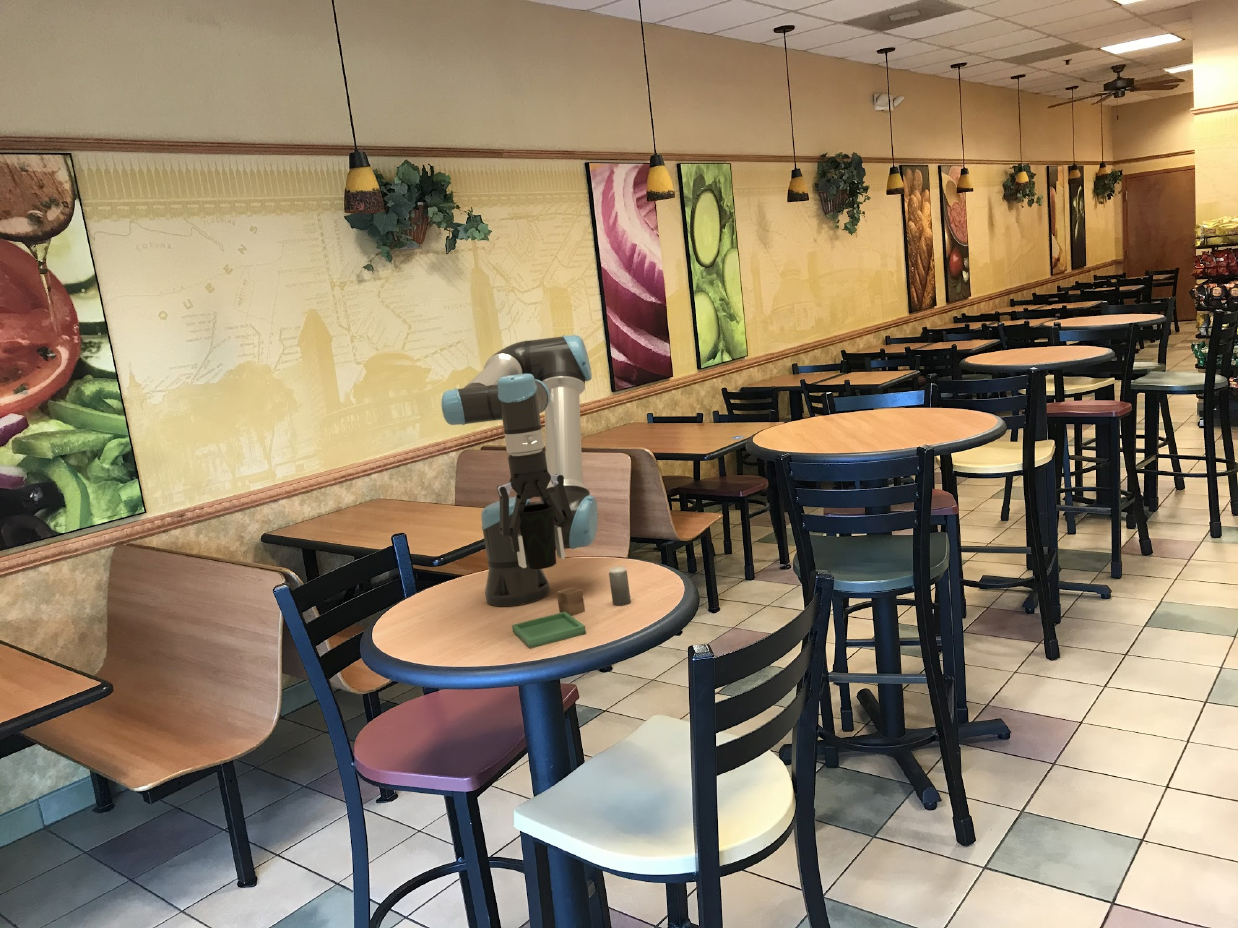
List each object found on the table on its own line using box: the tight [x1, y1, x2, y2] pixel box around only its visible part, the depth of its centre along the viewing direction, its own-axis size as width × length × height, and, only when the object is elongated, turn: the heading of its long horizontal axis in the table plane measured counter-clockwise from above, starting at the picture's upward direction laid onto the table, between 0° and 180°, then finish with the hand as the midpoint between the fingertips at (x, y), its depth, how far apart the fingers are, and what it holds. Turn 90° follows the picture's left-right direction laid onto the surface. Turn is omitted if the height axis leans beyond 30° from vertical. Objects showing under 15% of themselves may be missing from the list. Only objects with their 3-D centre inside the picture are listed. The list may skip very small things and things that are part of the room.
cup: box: [519, 504, 557, 570], centre depth 190 cm, size 8×8×12 cm
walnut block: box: [556, 586, 586, 617], centre depth 204 cm, size 4×4×5 cm
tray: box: [511, 612, 587, 649], centre depth 193 cm, size 12×12×2 cm
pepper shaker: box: [608, 566, 632, 607], centre depth 206 cm, size 4×4×8 cm
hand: (542, 561), depth 191 cm, fingers closed on cup, 8 cm apart
